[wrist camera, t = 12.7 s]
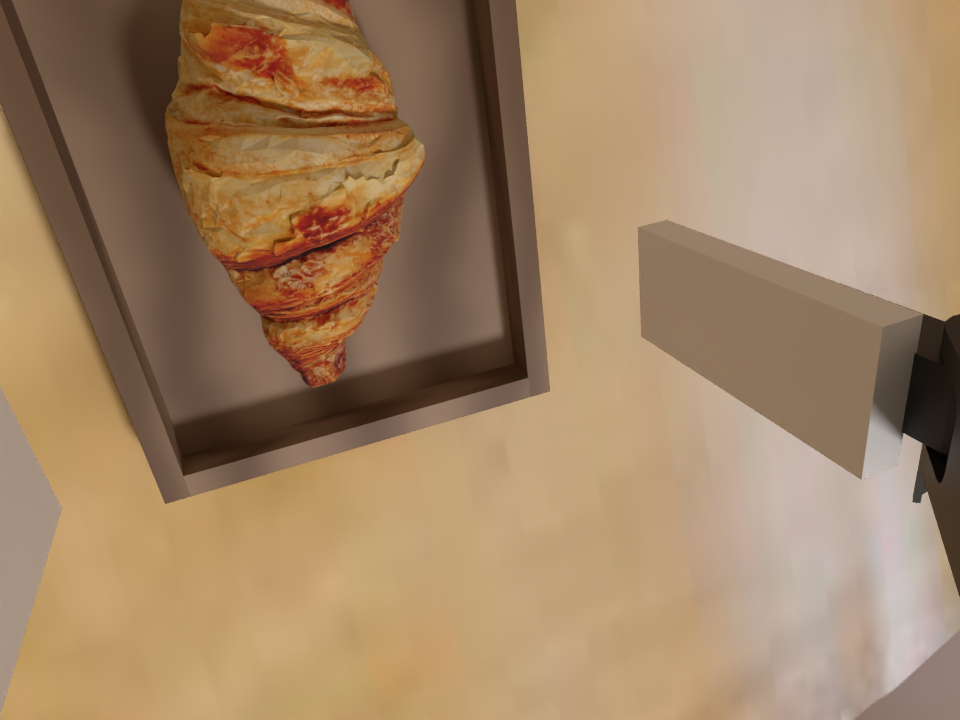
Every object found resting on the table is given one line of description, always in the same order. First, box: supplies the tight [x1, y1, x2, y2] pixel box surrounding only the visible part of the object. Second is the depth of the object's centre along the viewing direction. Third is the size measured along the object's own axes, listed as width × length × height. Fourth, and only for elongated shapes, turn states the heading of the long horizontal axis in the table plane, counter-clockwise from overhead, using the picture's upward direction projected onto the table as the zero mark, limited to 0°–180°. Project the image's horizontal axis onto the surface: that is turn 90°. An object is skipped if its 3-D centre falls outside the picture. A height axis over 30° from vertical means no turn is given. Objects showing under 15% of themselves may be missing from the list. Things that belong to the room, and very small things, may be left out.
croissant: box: [165, 0, 425, 388], centre depth 29 cm, size 21×10×8 cm, turn 2°
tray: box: [0, 0, 550, 504], centre depth 31 cm, size 20×29×3 cm
